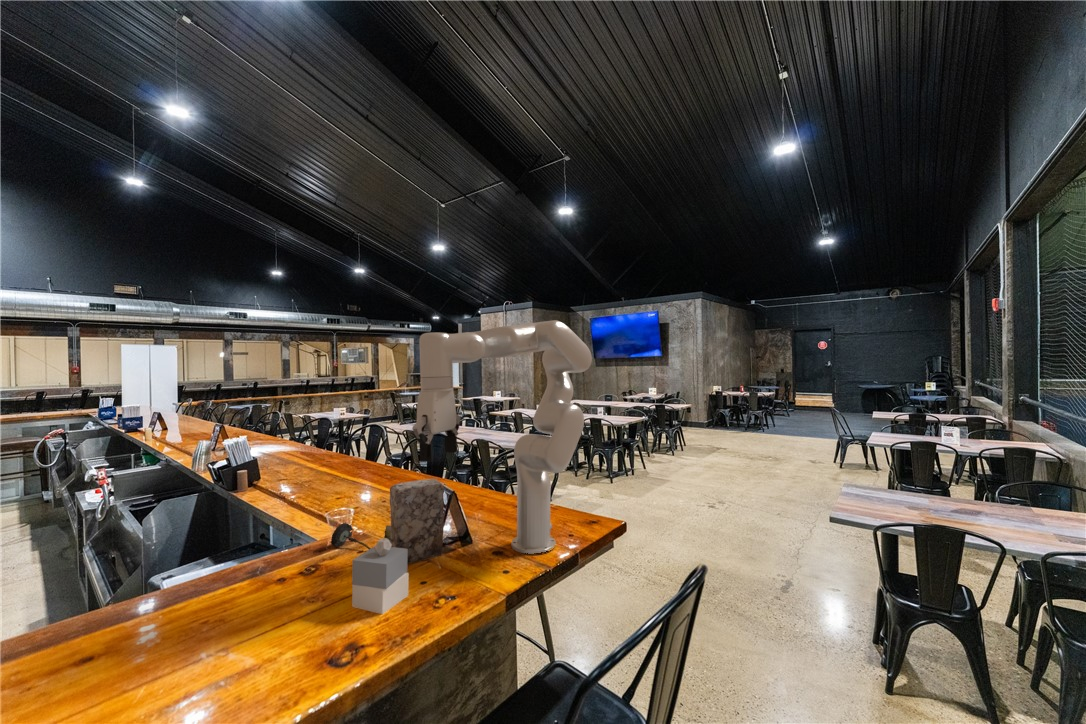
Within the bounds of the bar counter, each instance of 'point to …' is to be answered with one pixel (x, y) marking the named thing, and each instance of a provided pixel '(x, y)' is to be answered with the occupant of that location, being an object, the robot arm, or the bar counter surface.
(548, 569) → the bar counter surface
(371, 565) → the upper block
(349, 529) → the artificial flower
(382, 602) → the lower block
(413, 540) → the stone block
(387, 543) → the game die
